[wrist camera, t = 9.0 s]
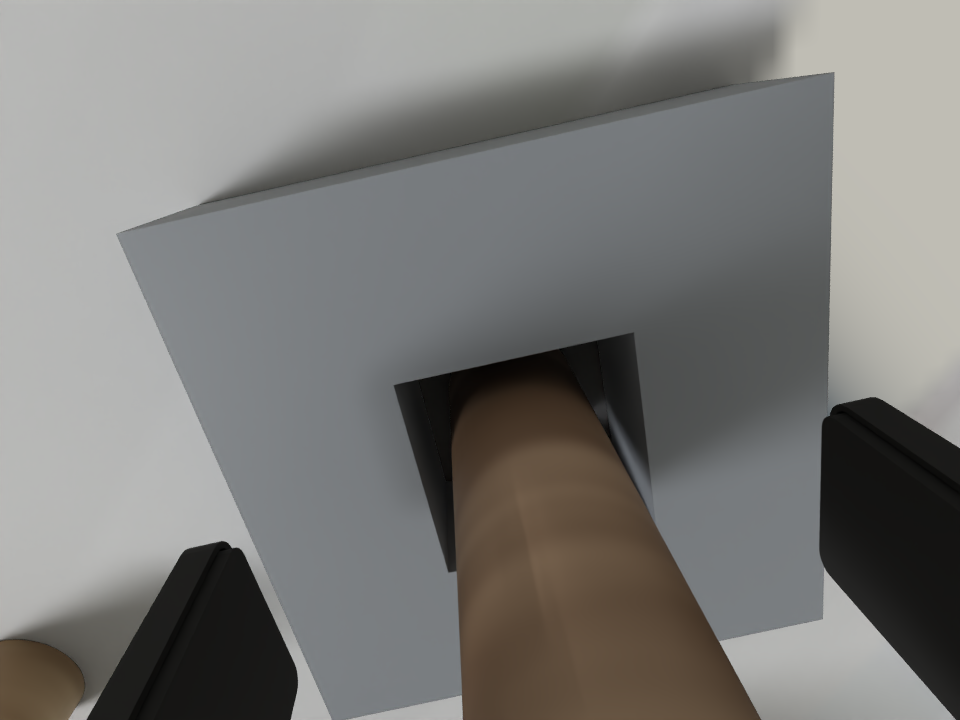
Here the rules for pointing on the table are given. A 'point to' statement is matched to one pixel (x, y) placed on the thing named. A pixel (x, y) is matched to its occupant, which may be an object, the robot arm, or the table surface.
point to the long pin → (567, 565)
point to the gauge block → (512, 334)
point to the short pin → (37, 682)
